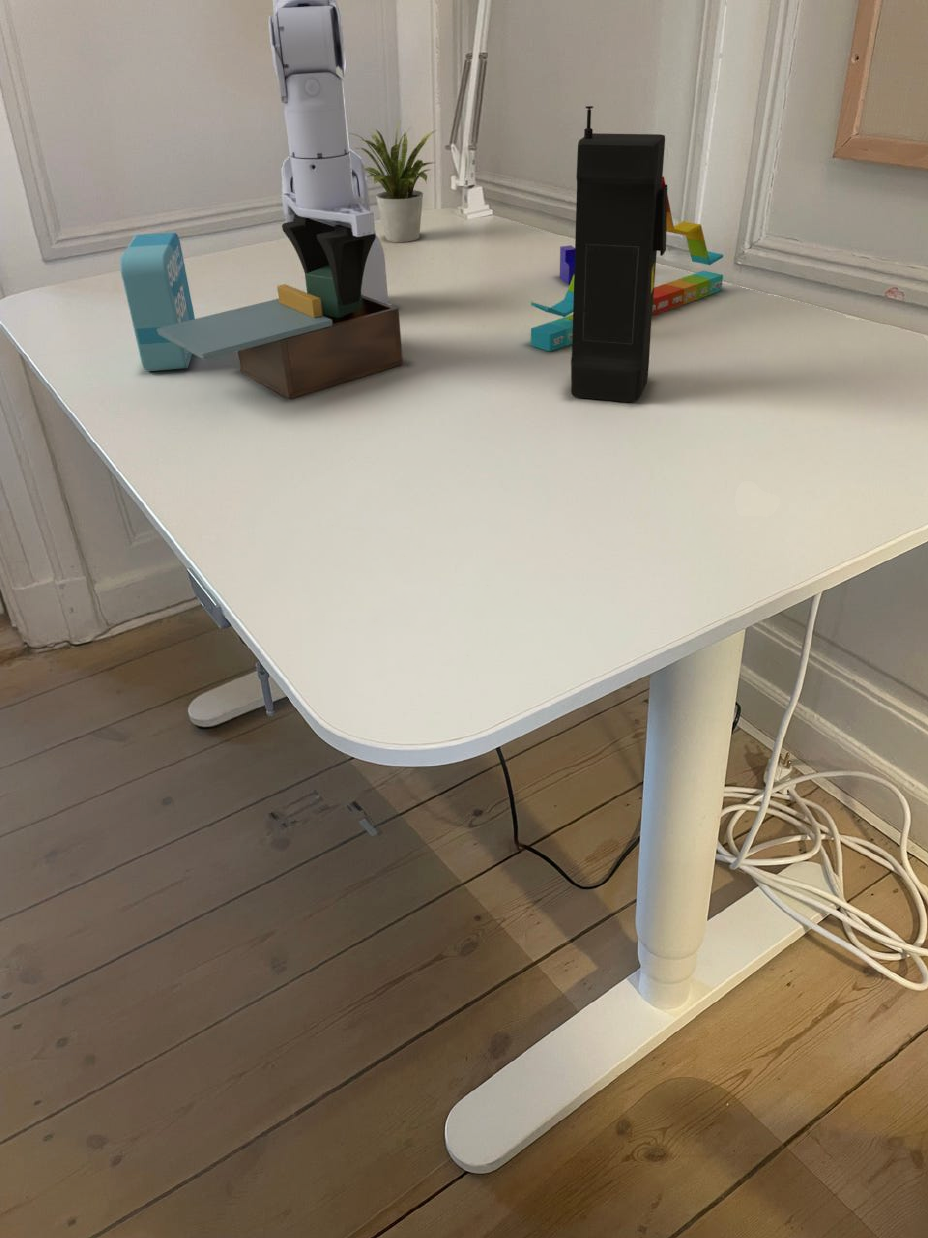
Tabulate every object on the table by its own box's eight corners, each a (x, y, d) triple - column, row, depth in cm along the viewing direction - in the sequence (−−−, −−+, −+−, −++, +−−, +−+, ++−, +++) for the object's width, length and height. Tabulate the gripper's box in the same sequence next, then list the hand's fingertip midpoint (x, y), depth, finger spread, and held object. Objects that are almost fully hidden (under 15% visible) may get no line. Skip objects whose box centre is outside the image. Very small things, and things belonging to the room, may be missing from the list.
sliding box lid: (281, 303, 102) (278, 280, 101) (333, 325, 96) (330, 301, 94) (157, 334, 95) (152, 309, 94) (204, 360, 89) (199, 334, 87)
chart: (551, 352, 105) (553, 204, 96) (530, 345, 107) (531, 200, 98) (723, 291, 120) (738, 160, 112) (702, 286, 123) (715, 157, 114)
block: (309, 313, 101) (304, 273, 98) (333, 302, 103) (329, 264, 101) (339, 318, 99) (335, 278, 97) (363, 307, 102) (359, 268, 99)
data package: (187, 372, 103) (163, 257, 96) (144, 375, 103) (117, 259, 96) (198, 336, 113) (177, 229, 106) (159, 339, 113) (136, 231, 106)
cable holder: (568, 284, 125) (569, 252, 123) (559, 277, 128) (560, 246, 125) (626, 278, 126) (628, 246, 124) (616, 271, 129) (617, 240, 127)
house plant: (337, 250, 144) (324, 128, 134) (360, 227, 155) (349, 113, 146) (430, 250, 142) (424, 127, 132) (447, 227, 153) (442, 112, 143)
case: (350, 341, 110) (345, 288, 106) (403, 364, 103) (398, 308, 100) (240, 372, 103) (231, 316, 99) (289, 399, 96) (280, 340, 93)
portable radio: (658, 382, 96) (682, 100, 82) (647, 404, 92) (670, 110, 78) (581, 375, 99) (591, 100, 84) (567, 397, 94) (575, 109, 80)
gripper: (396, 156, 90) (406, 303, 97) (317, 140, 99) (332, 275, 107) (331, 167, 86) (347, 319, 94) (256, 149, 96) (276, 288, 104)
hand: (335, 296), depth 100 cm, fingers closed on block, 5 cm apart
